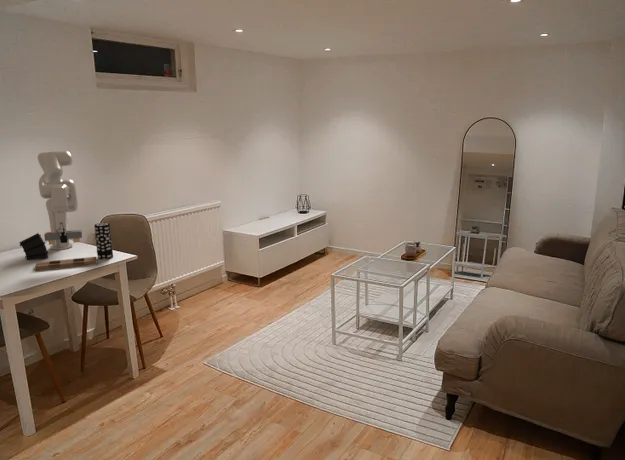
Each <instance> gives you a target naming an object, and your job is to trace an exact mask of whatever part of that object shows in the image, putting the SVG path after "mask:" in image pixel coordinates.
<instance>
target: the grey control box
mask: <svg viewBox="0 0 625 460" xmlns="http://www.w3.org/2000/svg"><path fill="white" fill-rule="evenodd" d="M63 232H64V231H63ZM66 235H67V239H69V240H73V244H74V243H76V244H77V243H80V239H82V238H83V230H82V229H78V230H77V229H76V230H68V231H66ZM43 237H44V242H48V245H50V246H52V245H53V244H56V241H55V240H60V232H51V231H46V232H45V233H44V236H43Z"/></svg>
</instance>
